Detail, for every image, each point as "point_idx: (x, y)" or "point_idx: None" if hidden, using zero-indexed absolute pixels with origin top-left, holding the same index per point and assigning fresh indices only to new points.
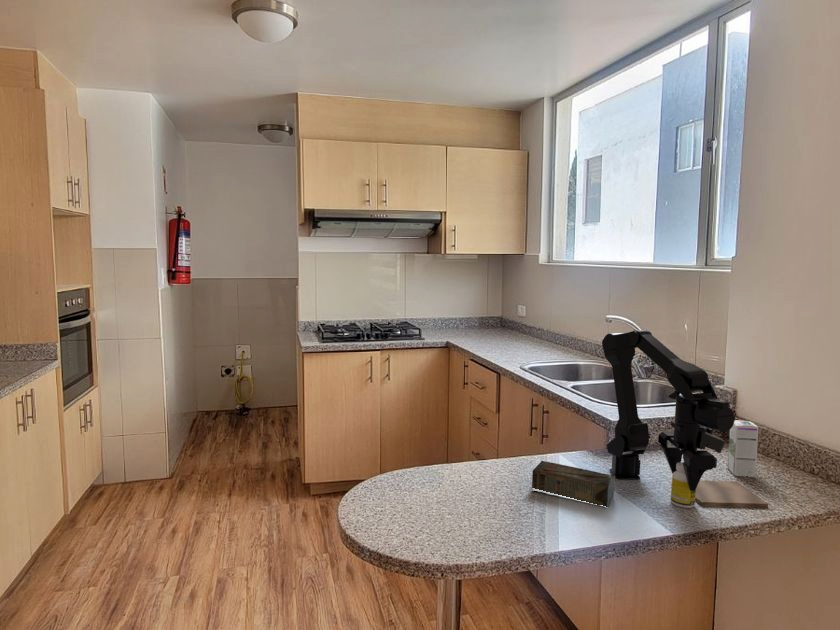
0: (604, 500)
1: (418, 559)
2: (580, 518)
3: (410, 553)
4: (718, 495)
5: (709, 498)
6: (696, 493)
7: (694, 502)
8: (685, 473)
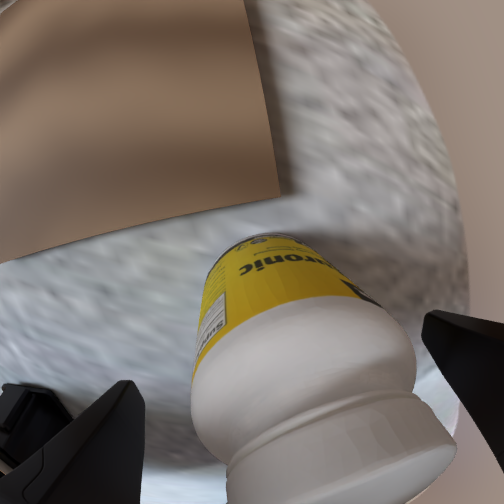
0: None
1: (421, 493)
2: None
3: (412, 499)
4: (142, 63)
5: (206, 125)
6: (135, 191)
7: (309, 247)
8: (492, 438)
